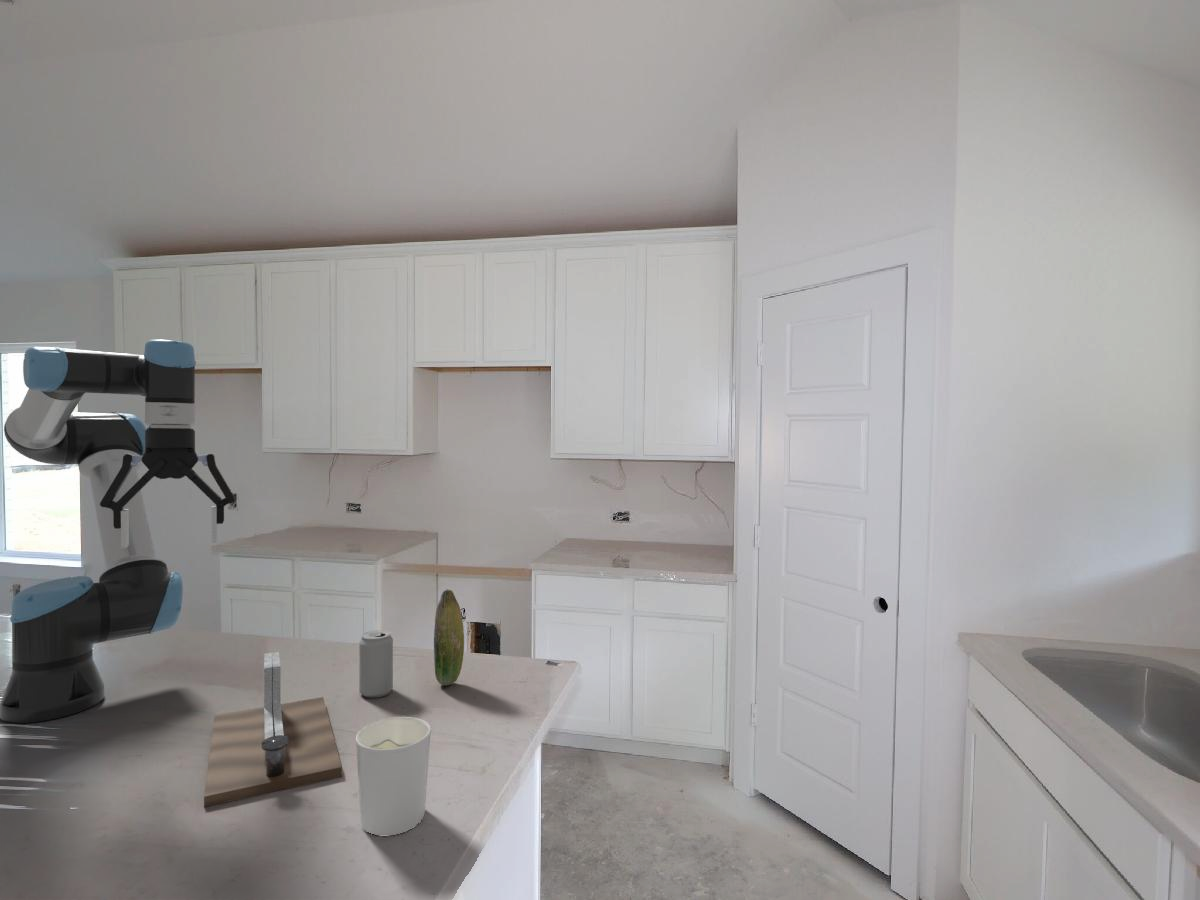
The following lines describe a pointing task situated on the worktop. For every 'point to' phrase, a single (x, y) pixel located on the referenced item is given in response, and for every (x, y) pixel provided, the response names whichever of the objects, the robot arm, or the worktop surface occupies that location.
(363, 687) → the beverage can
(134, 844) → the worktop surface
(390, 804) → the candle holder
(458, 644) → the vegetable
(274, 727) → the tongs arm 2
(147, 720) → the worktop surface
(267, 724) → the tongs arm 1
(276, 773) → the tongs hinge post
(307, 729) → the walnut board
